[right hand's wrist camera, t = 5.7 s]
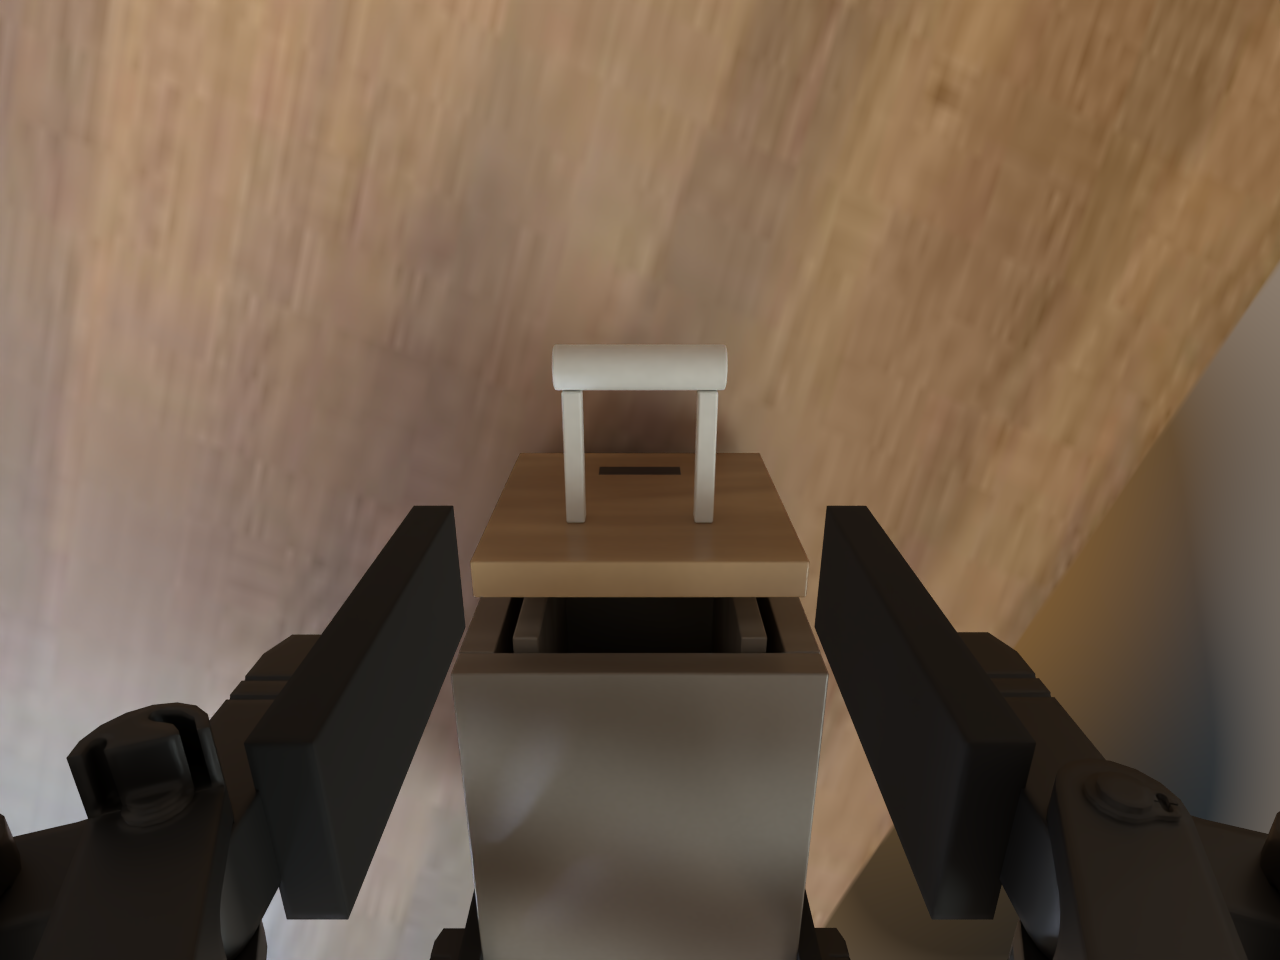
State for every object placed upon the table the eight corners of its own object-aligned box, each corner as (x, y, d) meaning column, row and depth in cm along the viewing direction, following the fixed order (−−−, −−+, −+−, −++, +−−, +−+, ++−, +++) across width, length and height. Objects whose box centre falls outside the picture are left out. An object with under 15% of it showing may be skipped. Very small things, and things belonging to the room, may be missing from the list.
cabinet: (513, 512, 32) (450, 674, 21) (765, 512, 32) (829, 673, 21) (533, 805, 38) (492, 1047, 27) (745, 805, 38) (787, 1047, 27)
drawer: (510, 310, 28) (451, 366, 19) (768, 311, 28) (828, 366, 19) (538, 750, 36) (504, 935, 27) (741, 750, 36) (774, 935, 27)
